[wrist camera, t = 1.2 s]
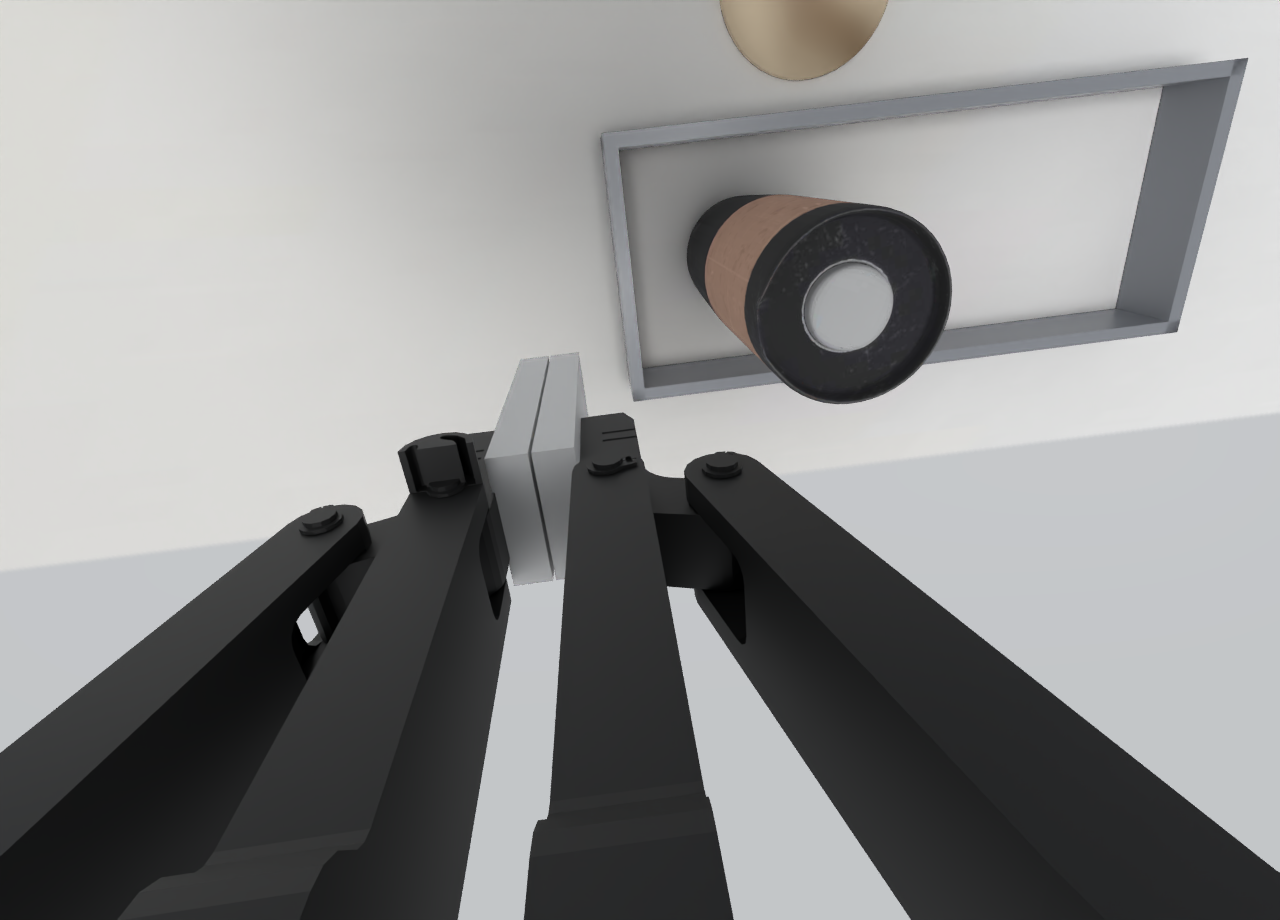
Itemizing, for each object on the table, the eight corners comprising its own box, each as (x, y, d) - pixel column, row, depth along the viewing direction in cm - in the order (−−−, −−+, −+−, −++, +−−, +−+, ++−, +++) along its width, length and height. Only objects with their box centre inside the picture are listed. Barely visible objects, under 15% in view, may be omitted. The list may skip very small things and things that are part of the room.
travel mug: (818, 236, 41) (998, 282, 23) (748, 332, 44) (862, 441, 26) (728, 165, 39) (850, 154, 21) (659, 270, 42) (715, 341, 23)
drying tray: (629, 381, 45) (633, 401, 40) (600, 138, 38) (602, 133, 34) (1124, 318, 45) (1177, 332, 41) (1178, 70, 39) (1248, 57, 35)
